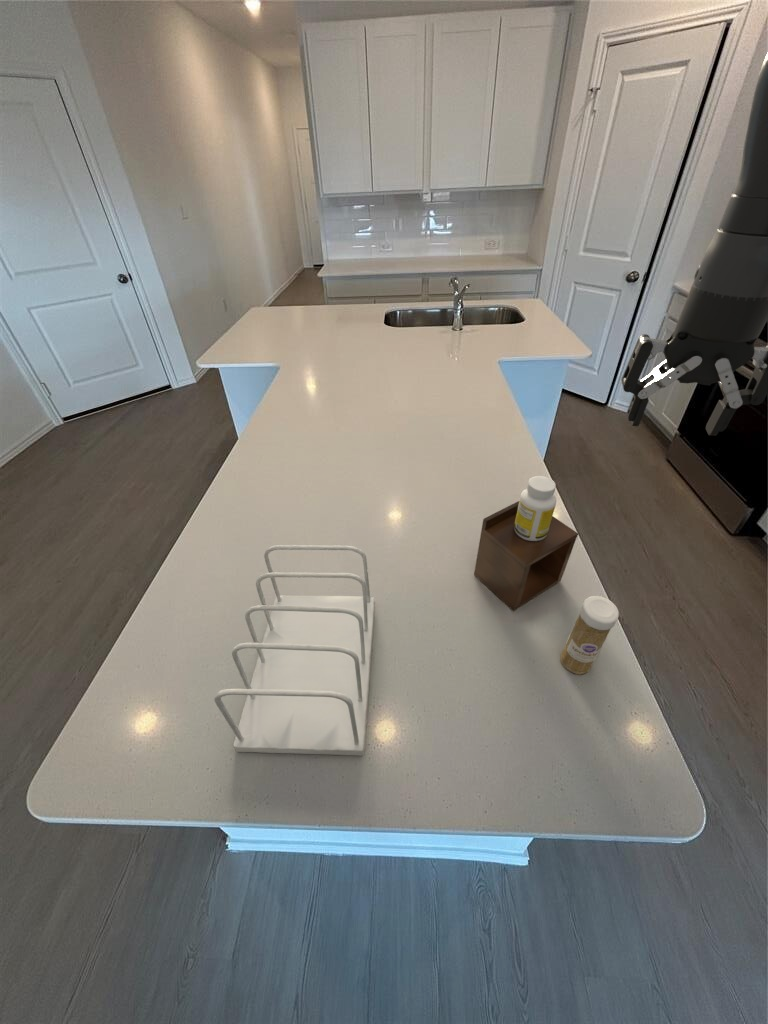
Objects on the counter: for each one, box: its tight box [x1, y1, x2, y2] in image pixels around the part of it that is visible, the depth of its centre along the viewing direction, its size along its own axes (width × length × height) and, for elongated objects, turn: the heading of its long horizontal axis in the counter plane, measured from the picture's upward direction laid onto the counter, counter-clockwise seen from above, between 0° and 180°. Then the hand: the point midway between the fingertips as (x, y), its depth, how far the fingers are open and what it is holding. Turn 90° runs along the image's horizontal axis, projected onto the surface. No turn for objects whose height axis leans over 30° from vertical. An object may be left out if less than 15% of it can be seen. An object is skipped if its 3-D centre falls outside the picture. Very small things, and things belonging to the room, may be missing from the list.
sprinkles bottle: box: [559, 595, 620, 675], centre depth 63 cm, size 5×5×14 cm
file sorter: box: [214, 544, 376, 757], centre depth 63 cm, size 25×17×16 cm
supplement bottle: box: [514, 475, 557, 541], centre depth 70 cm, size 5×5×10 cm
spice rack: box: [473, 499, 579, 612], centre depth 76 cm, size 10×12×14 cm
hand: (671, 427), depth 54 cm, fingers open, 8 cm apart
